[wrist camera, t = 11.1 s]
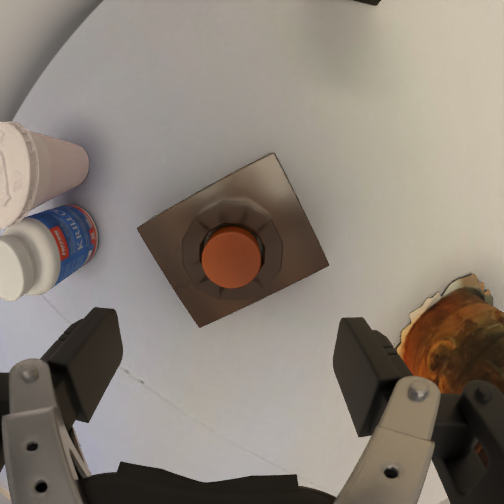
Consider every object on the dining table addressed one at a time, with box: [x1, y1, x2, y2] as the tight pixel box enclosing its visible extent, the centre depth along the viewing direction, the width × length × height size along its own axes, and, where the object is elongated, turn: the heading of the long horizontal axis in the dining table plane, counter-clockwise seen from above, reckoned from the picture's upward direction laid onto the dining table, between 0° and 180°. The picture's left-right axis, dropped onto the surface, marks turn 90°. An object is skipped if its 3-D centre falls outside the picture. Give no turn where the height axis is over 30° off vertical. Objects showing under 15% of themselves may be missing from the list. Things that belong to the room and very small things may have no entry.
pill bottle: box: [0, 205, 98, 301], centre depth 19 cm, size 6×5×10 cm
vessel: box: [396, 274, 504, 470], centre depth 18 cm, size 14×14×20 cm
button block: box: [137, 153, 329, 328], centre depth 22 cm, size 11×9×4 cm
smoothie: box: [0, 121, 89, 229], centre depth 15 cm, size 6×6×14 cm
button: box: [202, 226, 261, 288], centre depth 20 cm, size 4×4×2 cm
